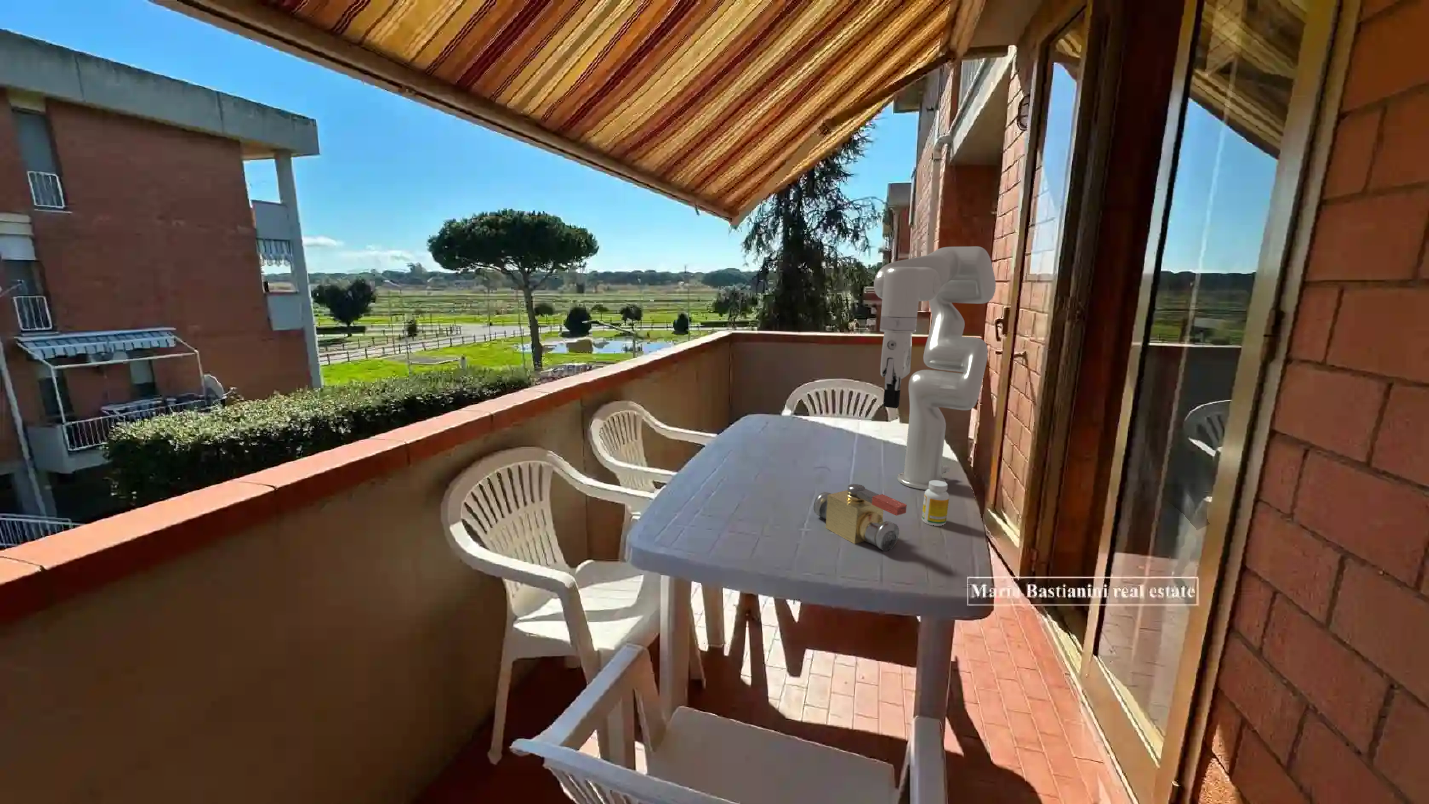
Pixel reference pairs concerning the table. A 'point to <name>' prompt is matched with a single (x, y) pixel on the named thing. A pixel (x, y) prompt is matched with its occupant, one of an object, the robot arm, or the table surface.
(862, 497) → the lever
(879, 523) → the valve
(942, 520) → the supplement bottle
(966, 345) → the robot arm
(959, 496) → the table surface
